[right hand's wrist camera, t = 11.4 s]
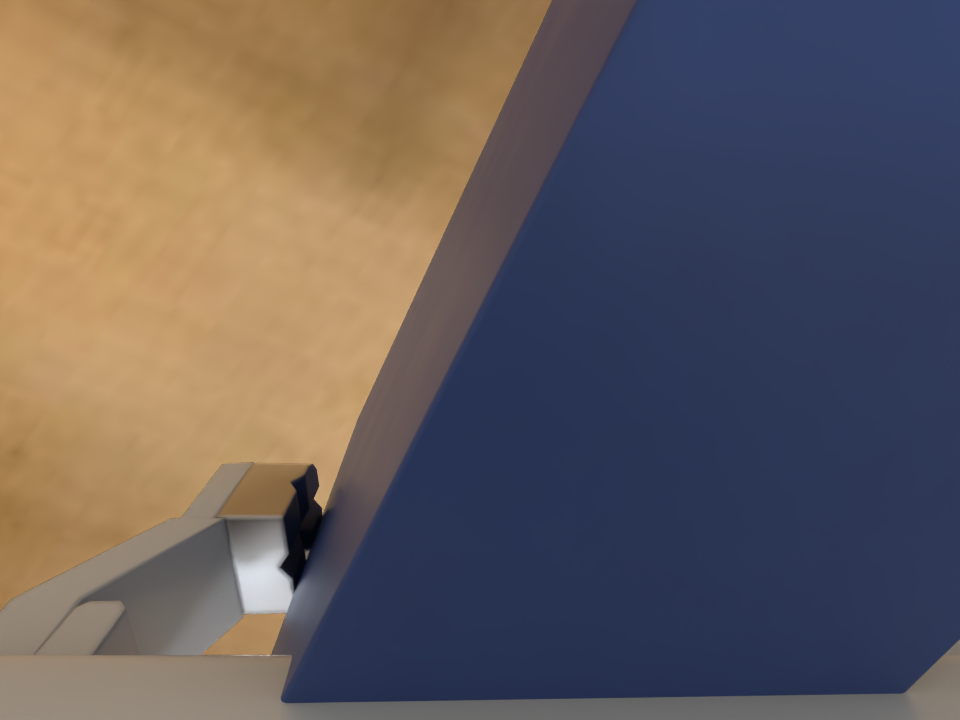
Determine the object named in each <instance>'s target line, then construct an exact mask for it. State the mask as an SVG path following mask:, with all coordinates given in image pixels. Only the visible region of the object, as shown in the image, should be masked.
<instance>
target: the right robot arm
mask: <svg viewBox="0 0 960 720" xmlns="http://www.w3.org/2000/svg"><path fill="white" fill-rule="evenodd" d="M318 487H319V482H318V475H317V469H316V468H315V466H314V465H313V464H290V463H253V462H248V463H226V464H222V465H221V466H220V467H219V469H218V470H217V471H216V473H215V474H214V475H213V477H212V478H211V479H210V480H209V482H208V483H207V484H206V486H205V487H204V488H203V490H202V491H201V492H200V493H199V495H198V496H197V497H196V499H195V500H194V501H193V503H192V504H191V505H190V506H189V508H188V509H187V510H186V512H185V513H184V514H183V516H182V517H181V518H170V519H168V520H166V521H164V522H162V523H160V524H158V525H156V526H155V527H153V528H151V529H149V530H147V531H145V532H143V533H141V534H139V535H137V536H135V537H133V538H131V539H129V540H127V541H125V542H123V543H121V544H119V545H117V546H115V547H113V548H111V549H109V550H107V551H105V552H103V553H101V554H99V555H97V556H95V557H93V558H91V559H89V560H87V561H85V562H83V563H81V564H79V565H77V566H75V567H73V568H72V569H70V570H68V571H66V572H64V573H62V574H60V575H58V576H56V577H54V578H52V579H50V580H48V581H46V582H44V583H42V584H40V585H38V586H36V587H34V588H32V589H30V590H28V591H26V592H24V593H22V594H20V595H18V596H16V597H14V598H12V599H11V600H10V601H9V602H8V603H7V604H6V605H5V606H4V607H3V608H2V609H1V610H0V720H960V640H959V641H958V642H957V643H956V644H955V645H954V646H953V647H952V648H951V649H950V650H948V651H947V652H946V653H945V654H944V655H943V656H942V657H941V658H940V659H939V660H938V661H937V662H936V663H935V664H934V665H933V666H932V667H931V668H930V669H929V670H928V671H927V672H926V673H925V674H924V675H923V676H922V677H921V678H920V679H919V680H918V681H917V682H915V683H914V684H913V685H912V686H911V687H910V688H909V689H908V690H907V691H906V692H904V693H902V694H839V695H775V696H711V697H648V698H584V699H521V700H457V701H394V702H330V703H284V702H282V701H281V695H282V691H283V688H284V684H285V681H286V677H287V674H288V670H289V667H290V664H291V660H292V655H201V654H202V653H204V652H205V651H206V650H207V649H208V648H209V647H210V646H211V645H212V644H214V643H215V642H216V641H217V640H218V639H219V638H220V637H221V636H223V635H224V634H225V633H226V632H227V631H228V630H229V629H230V628H232V627H233V626H234V625H235V624H236V623H237V622H238V621H239V620H241V619H242V618H243V614H271V613H287V611H288V608H289V605H290V602H291V600H292V597H293V594H294V592H295V589H296V587H297V584H298V581H299V579H300V576H301V573H302V571H303V568H304V565H305V563H306V559H307V556H308V554H309V551H310V548H311V546H312V543H313V541H314V538H315V536H316V533H317V530H318V528H319V525H320V522H321V520H322V517H323V515H322V508H321V507H320V506H319V504H318V503H317V502H316V501H315V500H314V497H315V494H316V492H317V490H318Z"/></svg>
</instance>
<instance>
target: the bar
mask: <svg viewBox="0 0 960 720" xmlns="http://www.w3.org/2000/svg"><path fill="white" fill-rule="evenodd" d="M959 640H960V0H552V2H551V4H550V6H549V9H548V11H547V13H546V15H545V17H544V19H543V21H542V24H541V26H540V28H539V30H538V32H537V34H536V37H535V39H534V41H533V43H532V45H531V47H530V49H529V52H528V54H527V56H526V58H525V60H524V62H523V65H522V67H521V69H520V71H519V73H518V75H517V77H516V80H515V82H514V84H513V86H512V88H511V90H510V93H509V95H508V97H507V99H506V101H505V103H504V105H503V108H502V110H501V112H500V114H499V116H498V118H497V121H496V123H495V125H494V127H493V129H492V131H491V133H490V136H489V138H488V140H487V142H486V144H485V146H484V149H483V151H482V153H481V155H480V157H479V159H478V161H477V164H476V166H475V168H474V170H473V172H472V174H471V177H470V179H469V181H468V183H467V185H466V187H465V189H464V192H463V194H462V196H461V198H460V200H459V202H458V205H457V207H456V209H455V211H454V213H453V215H452V217H451V220H450V222H449V224H448V226H447V228H446V230H445V233H444V235H443V237H442V239H441V241H440V243H439V245H438V248H437V250H436V252H435V254H434V256H433V258H432V261H431V263H430V265H429V267H428V269H427V271H426V273H425V276H424V278H423V280H422V282H421V284H420V286H419V289H418V291H417V293H416V295H415V297H414V299H413V302H412V304H411V306H410V308H409V310H408V312H407V314H406V317H405V319H404V321H403V323H402V325H401V327H400V330H399V332H398V334H397V336H396V338H395V340H394V342H393V345H392V347H391V349H390V351H389V353H388V355H387V358H386V360H385V362H384V364H383V366H382V368H381V370H380V373H379V375H378V377H377V379H376V381H375V383H374V386H373V388H372V390H371V392H370V394H369V396H368V398H367V401H366V403H365V405H364V407H363V409H362V411H361V414H360V416H359V418H358V420H357V423H356V426H355V429H354V431H353V434H352V437H351V439H350V442H349V445H348V448H347V450H346V453H345V456H344V458H343V461H342V464H341V467H340V469H339V472H338V475H337V477H336V480H335V483H334V486H333V488H332V491H331V494H330V497H329V499H328V502H327V505H326V507H325V510H324V513H323V517H322V520H321V522H320V525H319V528H318V530H317V533H316V536H315V538H314V541H313V543H312V546H311V548H310V551H309V554H308V556H307V559H306V563H305V565H304V568H303V571H302V573H301V576H300V579H299V581H298V584H297V587H296V589H295V592H294V594H293V597H292V600H291V602H290V605H289V608H288V611H287V613H286V616H285V619H284V621H283V624H282V627H281V630H280V632H279V635H278V638H277V640H276V643H275V646H274V649H273V651H272V654H271V655H292V660H291V664H290V667H289V670H288V674H287V677H286V681H285V684H284V688H283V691H282V695H281V701H282V702H284V703H330V702H394V701H457V700H521V699H584V698H648V697H711V696H775V695H839V694H902V693H904V692H906V691H907V690H908V689H909V688H910V687H911V686H912V685H913V684H914V683H915V682H917V681H918V680H919V679H920V678H921V677H922V676H923V675H924V674H925V673H926V672H927V671H928V670H929V669H930V668H931V667H932V666H933V665H934V664H935V663H936V662H937V661H938V660H939V659H940V658H941V657H942V656H943V655H944V654H945V653H946V652H947V651H948V650H950V649H951V648H952V647H953V646H954V645H955V644H956V643H957V642H958V641H959Z"/></svg>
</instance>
